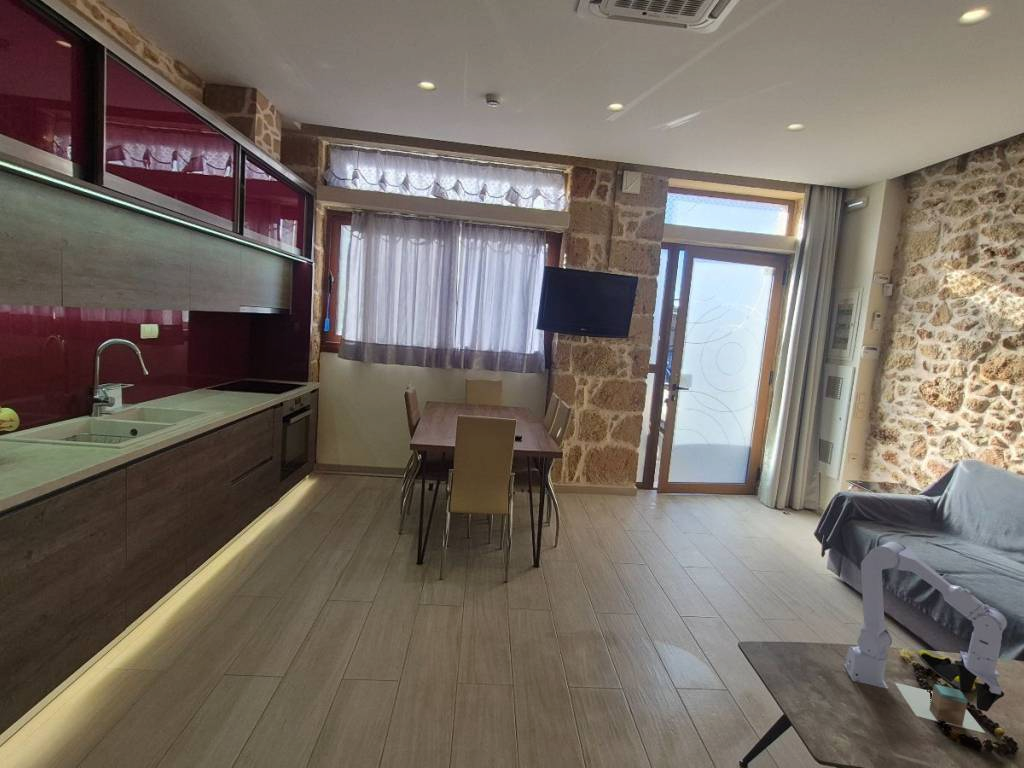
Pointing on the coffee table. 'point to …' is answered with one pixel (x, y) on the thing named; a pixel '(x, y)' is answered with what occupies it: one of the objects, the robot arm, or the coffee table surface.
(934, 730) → the coffee table surface
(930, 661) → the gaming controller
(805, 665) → the coffee table surface
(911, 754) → the coffee table surface
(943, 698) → the walnut block
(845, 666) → the robot arm
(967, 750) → the coffee table surface
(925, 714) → the sage mat
